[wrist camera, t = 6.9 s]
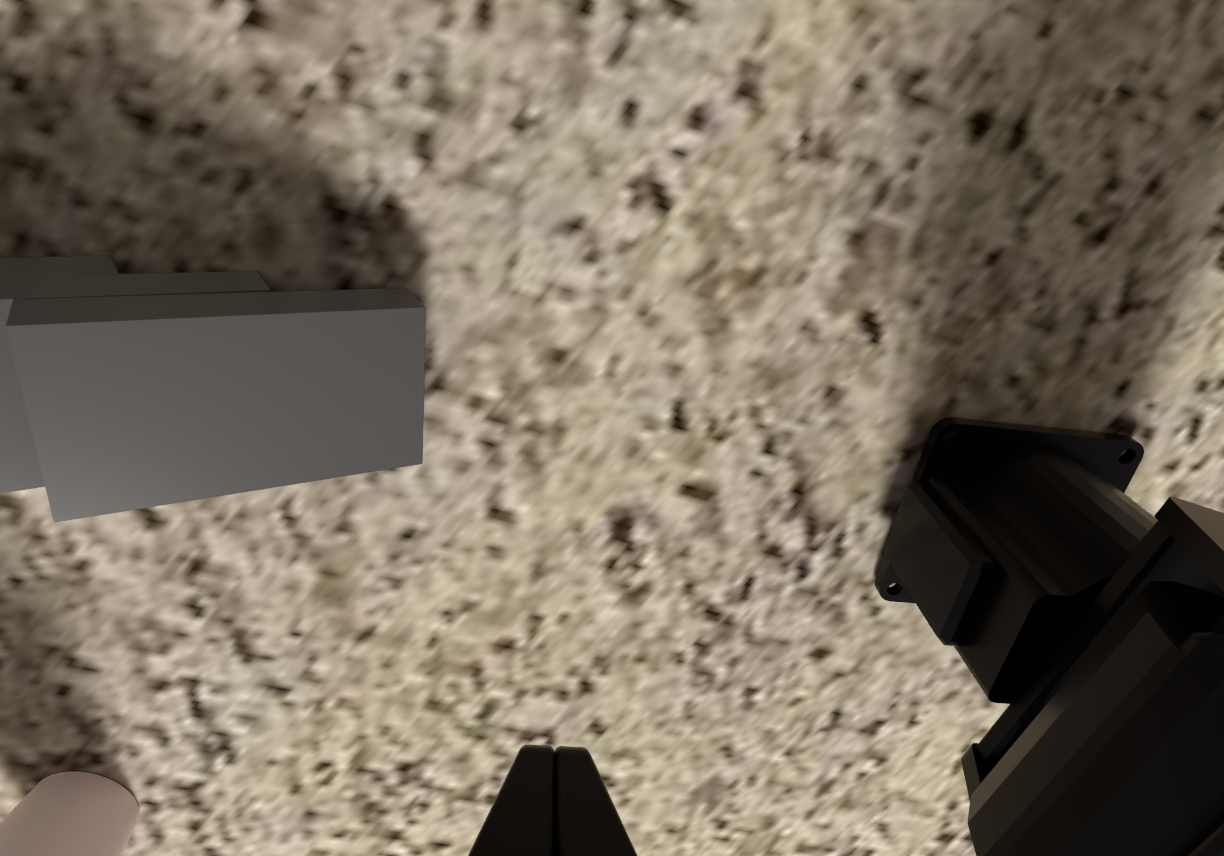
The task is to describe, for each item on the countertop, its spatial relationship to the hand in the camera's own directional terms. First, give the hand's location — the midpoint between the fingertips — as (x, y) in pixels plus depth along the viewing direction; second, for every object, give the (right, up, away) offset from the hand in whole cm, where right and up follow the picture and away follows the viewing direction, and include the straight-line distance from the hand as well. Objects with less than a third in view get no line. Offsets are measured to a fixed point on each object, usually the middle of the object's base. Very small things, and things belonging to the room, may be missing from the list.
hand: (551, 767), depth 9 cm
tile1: (-4, +6, +10) cm, 12 cm away
